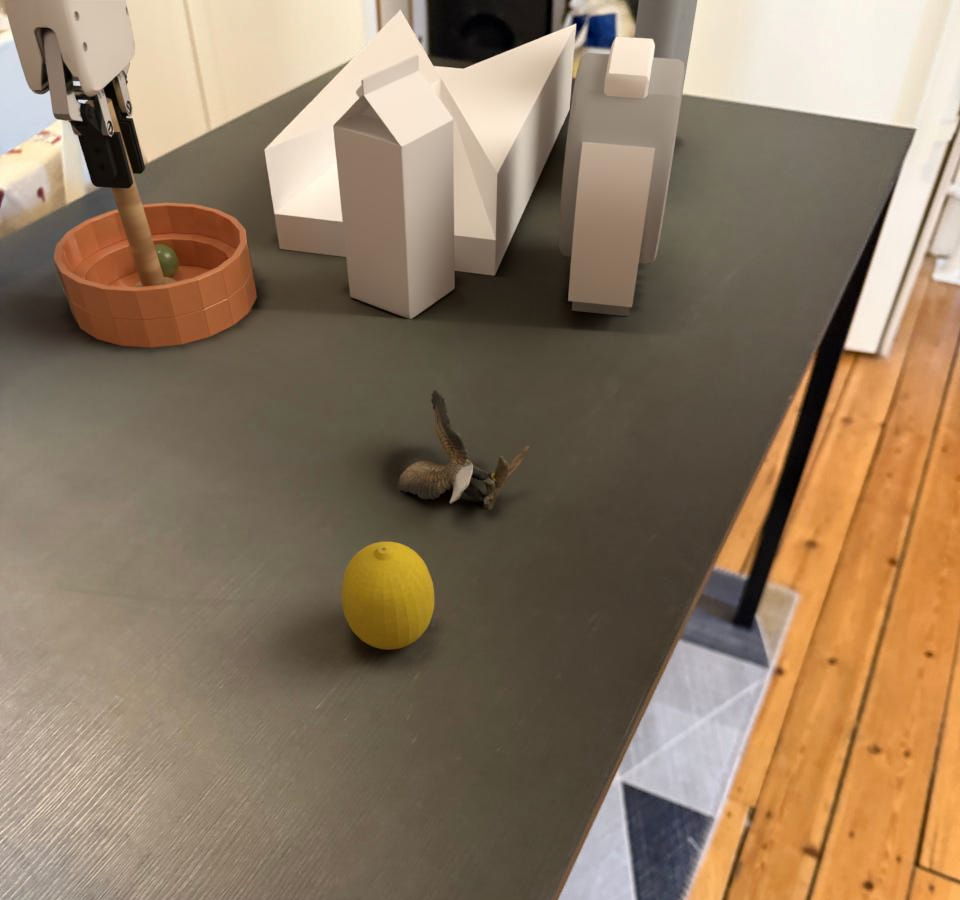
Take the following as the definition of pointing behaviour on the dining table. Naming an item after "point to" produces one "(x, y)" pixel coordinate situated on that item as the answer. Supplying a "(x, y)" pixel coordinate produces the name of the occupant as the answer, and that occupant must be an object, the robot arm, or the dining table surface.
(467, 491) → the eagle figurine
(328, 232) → the building model
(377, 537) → the dining table surface
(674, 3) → the flask
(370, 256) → the milk carton
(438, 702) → the dining table surface
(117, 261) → the bowl
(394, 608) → the lemon
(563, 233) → the grey boxy piece
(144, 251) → the stick
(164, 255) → the bead
